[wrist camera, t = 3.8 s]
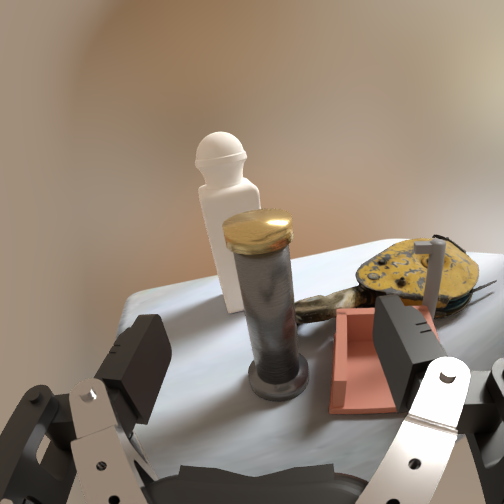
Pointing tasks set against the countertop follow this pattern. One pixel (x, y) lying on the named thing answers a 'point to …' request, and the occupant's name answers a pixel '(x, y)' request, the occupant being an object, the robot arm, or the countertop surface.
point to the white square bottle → (224, 203)
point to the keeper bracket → (363, 351)
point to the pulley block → (400, 282)
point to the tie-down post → (268, 300)
